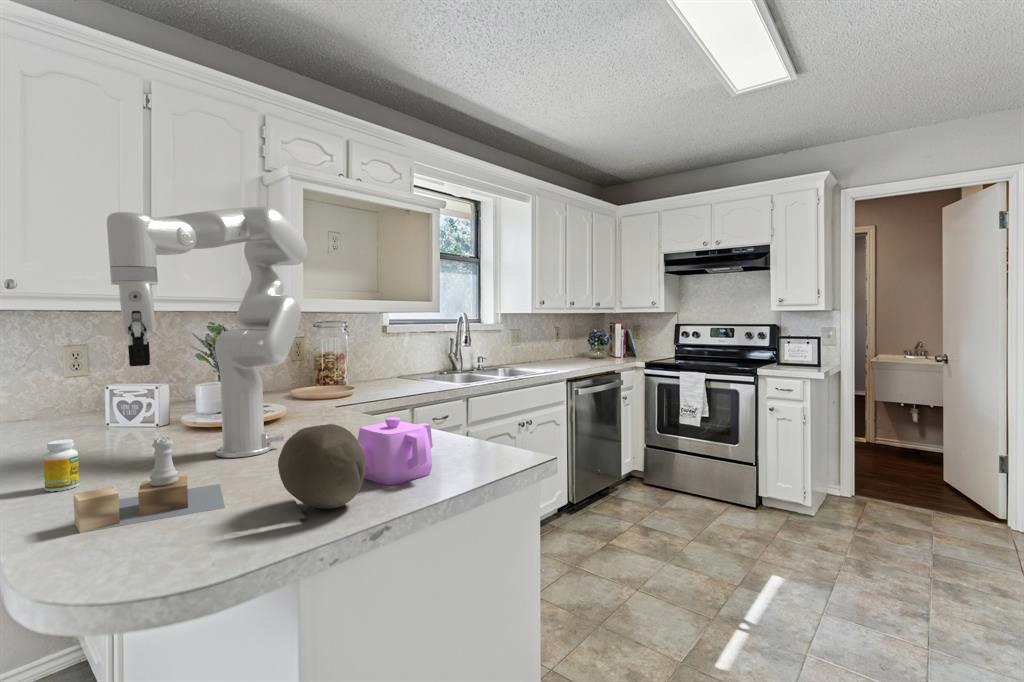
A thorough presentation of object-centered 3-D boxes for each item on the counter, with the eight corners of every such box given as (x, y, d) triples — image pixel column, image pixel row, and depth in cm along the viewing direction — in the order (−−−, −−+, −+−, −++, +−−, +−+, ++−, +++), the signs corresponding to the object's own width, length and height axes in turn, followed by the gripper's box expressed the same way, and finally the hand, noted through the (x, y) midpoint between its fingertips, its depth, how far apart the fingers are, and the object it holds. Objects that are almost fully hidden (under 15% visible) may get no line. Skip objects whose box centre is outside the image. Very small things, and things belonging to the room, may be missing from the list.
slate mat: (219, 487, 105) (219, 483, 105) (225, 512, 91) (225, 507, 91) (93, 507, 94) (93, 503, 94) (78, 538, 81) (78, 533, 81)
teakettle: (428, 485, 106) (427, 424, 105) (343, 487, 105) (342, 426, 104) (436, 462, 123) (435, 410, 122) (363, 464, 122) (362, 411, 121)
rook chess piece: (156, 488, 90) (154, 442, 89) (144, 484, 92) (142, 439, 92) (184, 481, 93) (182, 437, 93) (171, 478, 96) (170, 434, 95)
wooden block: (187, 496, 97) (187, 475, 97) (188, 507, 91) (187, 485, 91) (141, 503, 94) (141, 482, 94) (139, 516, 88) (138, 492, 88)
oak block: (113, 515, 88) (111, 486, 88) (119, 523, 85) (118, 493, 84) (74, 524, 84) (73, 494, 84) (80, 532, 81) (78, 501, 81)
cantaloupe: (344, 490, 103) (342, 414, 102) (379, 508, 92) (378, 424, 92) (269, 508, 93) (266, 425, 92) (299, 531, 83) (297, 437, 82)
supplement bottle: (50, 486, 107) (48, 440, 107) (83, 482, 109) (81, 437, 109) (40, 494, 102) (38, 445, 102) (75, 490, 105) (73, 442, 104)
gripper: (157, 275, 98) (163, 366, 99) (157, 279, 112) (162, 358, 113) (107, 274, 93) (114, 369, 95) (113, 279, 108) (119, 361, 109)
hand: (140, 363), depth 104 cm, fingers open, 9 cm apart
